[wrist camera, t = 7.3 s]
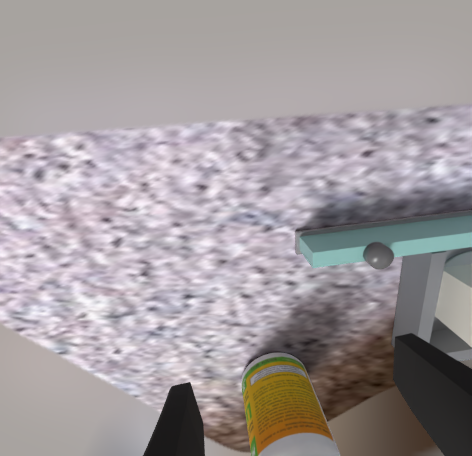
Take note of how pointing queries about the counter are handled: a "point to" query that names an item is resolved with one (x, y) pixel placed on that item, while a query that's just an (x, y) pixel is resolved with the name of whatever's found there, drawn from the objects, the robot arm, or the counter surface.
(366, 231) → the teal long flat bar
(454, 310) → the cream block with knob
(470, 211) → the housing
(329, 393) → the counter surface
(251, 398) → the supplement bottle
